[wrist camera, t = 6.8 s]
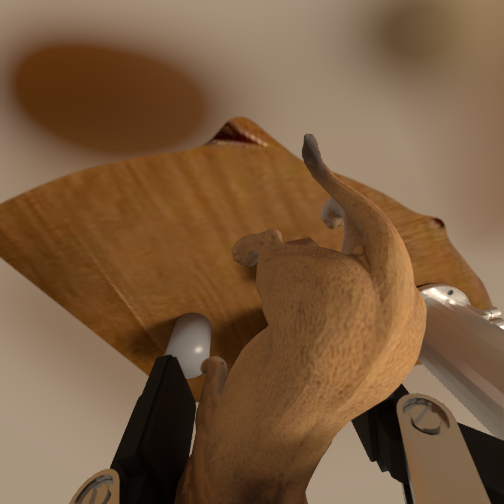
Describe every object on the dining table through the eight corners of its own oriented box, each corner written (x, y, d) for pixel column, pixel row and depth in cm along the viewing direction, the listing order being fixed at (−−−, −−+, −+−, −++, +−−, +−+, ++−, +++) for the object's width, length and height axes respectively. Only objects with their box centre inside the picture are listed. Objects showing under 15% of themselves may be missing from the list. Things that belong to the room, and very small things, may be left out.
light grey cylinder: (206, 308, 33) (201, 338, 27) (215, 339, 35) (213, 372, 29) (169, 317, 33) (157, 349, 27) (180, 347, 34) (171, 383, 29)
